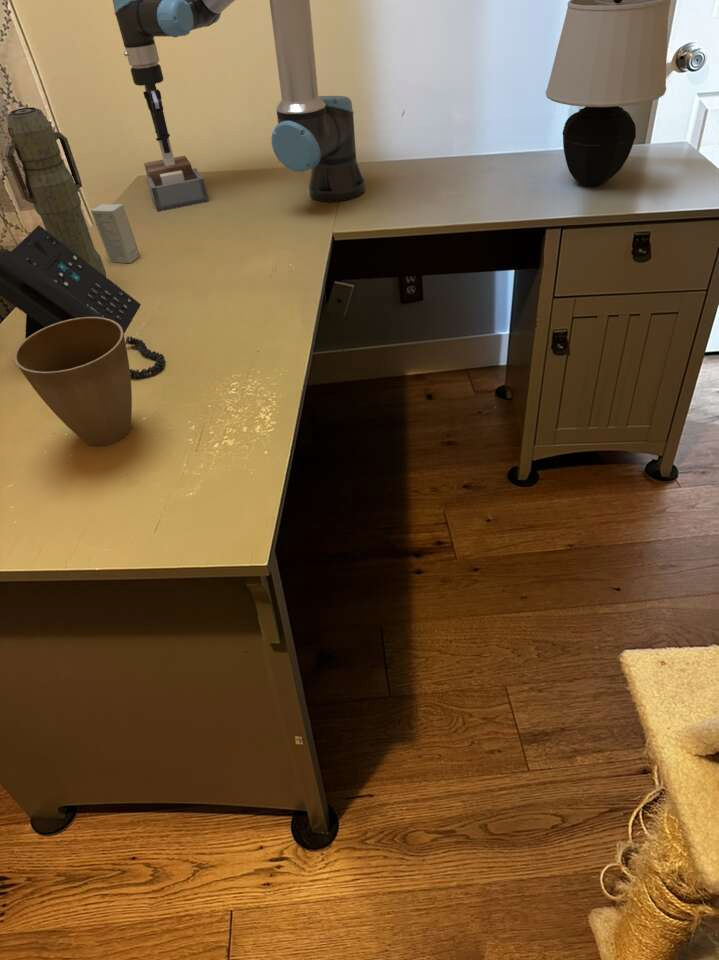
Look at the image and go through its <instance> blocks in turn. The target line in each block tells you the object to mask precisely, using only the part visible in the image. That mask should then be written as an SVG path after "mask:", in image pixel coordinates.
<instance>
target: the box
mask: <svg viewBox="0 0 719 960" xmlns="http://www.w3.org/2000/svg"><path fill="white" fill-rule="evenodd" d="M192 172H193V177H194V179H192V180H187V181H182V182H176V183H171V184H166V185H161V186H156V187H155V185H154V183H153V181H152V179H151V177H146V183H147V185H148V188H149V193H150V197H151V200H152V202H153V205H154V206H156V207H155V209H156V210H157V212H158V211H159V212H163V211H162V210H164V211H168V210H167V209H169V210H172V209H171V208H173V209H177V208H176V207H178V208H182V207H181V206H183V207H188V206H192V204H193V205H197V203H198V204H202V203H201V202H203V203H207V202H206V201H208V202H209V198H208V194H207V189H206V185H205V180H204V177H203V176H202V175H201V173H200V171H198V169H197V168H196V167H195V168H192ZM187 205H188V206H187Z"/></svg>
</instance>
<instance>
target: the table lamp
mask: <svg viewBox="0 0 719 960" xmlns="http://www.w3.org/2000/svg"><path fill="white" fill-rule="evenodd" d="M669 5H670V0H568V2H567V8H566V11H565V12H566V13H565V18H564V21H563V24H562V25H563V26H562V29H561V33H560V37H559V41H558V44H557V49H556V52H555V56H554V59H553V60H554V61H553V65H552V68H551V72H550V76H549V80H548V84H547V88H546V90H545V96H546V98H547V99H548V100H550V101H552V102H554V103H558V104H562V105H567V106H575V107H582V108H579V110H578V111H577V112H574V113H572V115H570V116H568V117H567V119H566V121H565V123H564V126H563V130H562V144H563V153H564V157H565V163H566V167H567V169H568V171H569V174H570V175H571V176H572V178H573V179H574V180H575V181H576V182H577V183H578V184H580V185H584V186H588V187H589V186H599V185H602V184H605V183H606V182H607V181H609V180H610V179H612V178H613V177H614V176H615V175H616V174H617V173H619V171H620V170H621V169H622V168H623V167H624V164H625V163H626V161H627V159H628V158H629V155H630V153H631V151H632V148H633V145H634V142H635V139H636V135H637V134H636V133H637V130H636V129H637V128H636V124H635V122H634V120H633V118H632V116H631V115H630V113H629V112H627V111H626V110H624V108H623V107H624V106H626V107H627V106H634V105H640V104H644V103H645V104H646V103H649V102H652V101H656V100H658V99H660V98H661V97H663V96H664V95H665V94H666V91H667V84H666V83H667V78H666V77H667V55H668V30H669V25H668V22H669ZM583 107H584V108H583Z"/></svg>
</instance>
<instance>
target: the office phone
mask: <svg viewBox="0 0 719 960" xmlns="http://www.w3.org/2000/svg"><path fill="white" fill-rule="evenodd" d="M0 297H2V298H3V299H4V300H5V301H7V302H8V303H10V304H11V305H13V306H14V307H16V308H17V309H19V310H20V311H21V312H23V313H24V314H26V317H25V319H26V320H25V336H24V338H25V339H26V338H28V337H29V336H31V335H32V334H34V333H35V332H37V331H39V330H41V329H43V328H45V327H47V326H50V325H52V324H55V323H58V322H61V321H65V320H69V319H74V318H82V317H102V318H107V319H110V320H113V321H115V322H116V323H118V324H119V325H120V326H121V327H122V329H123V334H124V333H125V331H126V329H127V327H128V326H129V325H130V323H131V321H132V319H133V317H134V316H135V314H136V313H137V311H138V310H139V308H140V306H141V303H140V302H139V301H138V300H136V299H135V298H134V297H132V296H131V295H130V294H128V293H127V292H126V291H124V290H123V289H122V288H120V287H119V286H118V285H117V284H115V283H114V282H113V281H112V280H110V279H109V278H108V277H107V276H106V277H105V276H104V275H103V274H101V273H100V272H99V271H97V270H96V269H95V268H94V267H92V266H91V265H90V264H88V263H87V262H86V261H85V260H83V259H82V258H81V257H79V256H78V255H77V254H76V253H74V252H73V251H72V250H70V249H69V248H68V247H67V246H65V245H64V244H63V243H62V242H60V241H59V240H58V239H56V238H55V237H54V236H53V235H51V234H50V233H49V232H47V231H46V229H45V227H44V228H43V226H41V225H40V224H39V225H37V226H36V227H35V228H34V229H33V230H32V231H31V232H30V233H29V234H28V235H27V236H26V237H25V238H24V239H23V240H22V241H21V242H20V243H18V245H16V247H15V248H13V249H12V250H9V249H0ZM25 339H24V340H25ZM125 339H126V340H125V343H126V345H131V346H134V347H136V348H137V350H138V352H139V353H140V354H141V355H142V356H144V357H145V358H147V359H149V360H151V359H152V360H154V361H155V363H154V365H152V366H149V367H148V368H147V369H146V368H143V369H141V371H140V370H139V369H132V368H130V377H131V379H133V378H134V379H143V378H144V379H146V378H147V377H151V376H154V375H157V374H159V373H160V372H161V371H163V370H164V369H163V368H164V367H165V365H164V364H166V363H167V362H166V359H165V356H164V354H162V353H160V352H156V351H155V350H153V351H152V350H151V349H148V347H147V345H146V343H145V341H143V339H139V338H137V337H133V336H126V338H125Z"/></svg>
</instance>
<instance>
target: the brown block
mask: <svg viewBox="0 0 719 960" xmlns="http://www.w3.org/2000/svg"><path fill="white" fill-rule="evenodd" d="M173 158H174V162H175V165H169V166H165V164H164V160H163V159H160V160H154V161H153V160H152V161H148V162H143V165H144V169H145V173H146V175H147V177H151V179H152V181H153V183H154V185H155V187H156V186H161V185H162V181H161V178H160V174H164V173H170V172H175V171H180V170H181V171H182V172H183V176H184V180H185V181H187V180H192V179H194V177H193V172H192V169H193V167H192V163H191V162H190V161H189V159H188V158H187V156H186V155H181V156H177V157H176V156H175V157H174V156H173ZM147 177H146V178H147Z"/></svg>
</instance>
